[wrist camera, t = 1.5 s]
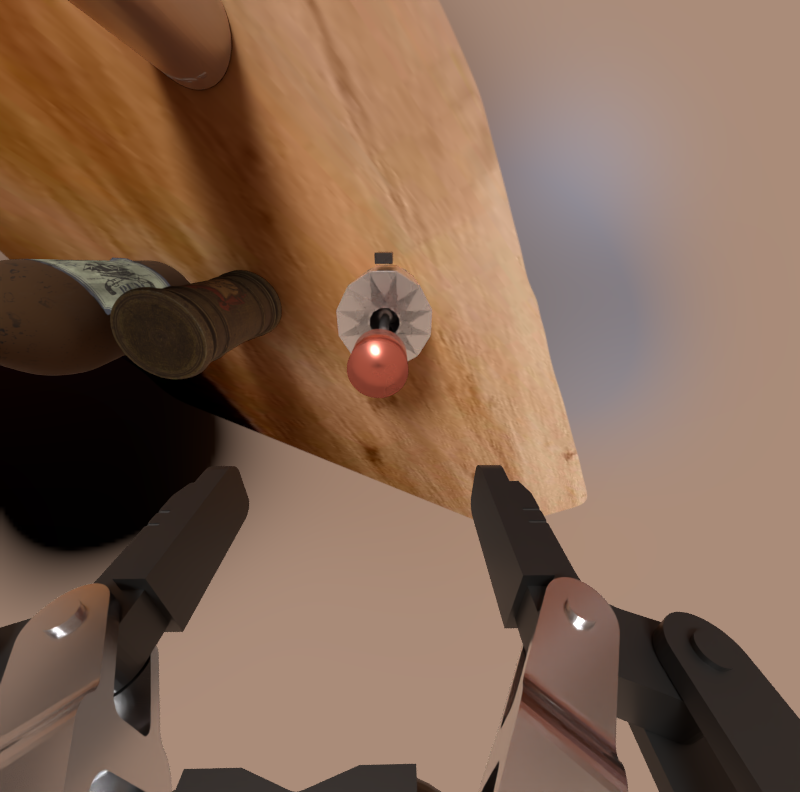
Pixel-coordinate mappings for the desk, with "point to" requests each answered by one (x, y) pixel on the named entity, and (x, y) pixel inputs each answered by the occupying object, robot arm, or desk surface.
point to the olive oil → (67, 310)
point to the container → (193, 322)
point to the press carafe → (385, 305)
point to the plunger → (379, 357)
